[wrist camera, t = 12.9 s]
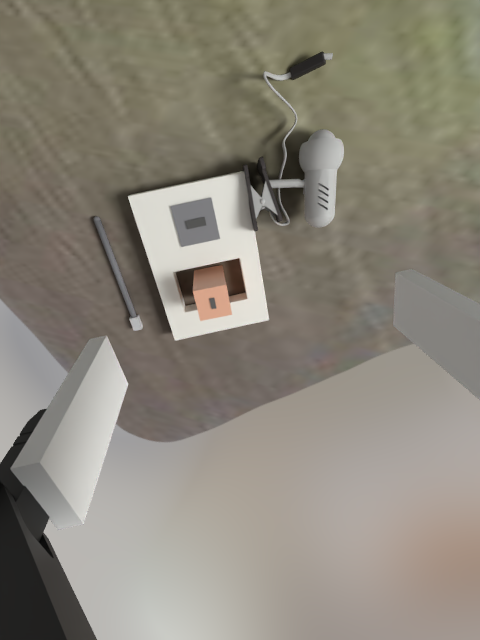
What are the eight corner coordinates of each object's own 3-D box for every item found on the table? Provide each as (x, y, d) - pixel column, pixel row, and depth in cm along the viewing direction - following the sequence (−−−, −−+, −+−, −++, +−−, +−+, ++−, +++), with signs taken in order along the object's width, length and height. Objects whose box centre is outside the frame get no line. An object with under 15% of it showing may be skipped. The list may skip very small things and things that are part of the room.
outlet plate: (131, 194, 39) (127, 196, 37) (242, 170, 40) (245, 171, 37) (176, 332, 49) (174, 341, 46) (266, 312, 49) (269, 321, 46)
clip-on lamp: (240, 74, 38) (244, 232, 42) (240, 41, 32) (245, 230, 36) (339, 70, 38) (333, 229, 42) (359, 37, 32) (350, 227, 36)
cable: (91, 217, 40) (89, 218, 39) (101, 215, 40) (99, 216, 39) (135, 328, 47) (133, 330, 47) (142, 326, 47) (142, 329, 47)
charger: (194, 270, 45) (192, 291, 37) (222, 264, 45) (226, 285, 37) (200, 296, 46) (200, 321, 39) (227, 291, 47) (232, 315, 39)
